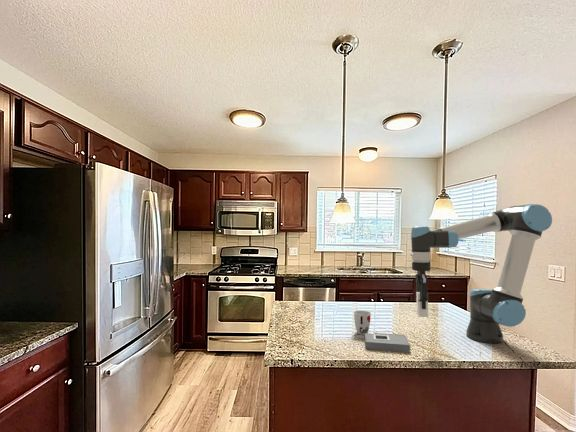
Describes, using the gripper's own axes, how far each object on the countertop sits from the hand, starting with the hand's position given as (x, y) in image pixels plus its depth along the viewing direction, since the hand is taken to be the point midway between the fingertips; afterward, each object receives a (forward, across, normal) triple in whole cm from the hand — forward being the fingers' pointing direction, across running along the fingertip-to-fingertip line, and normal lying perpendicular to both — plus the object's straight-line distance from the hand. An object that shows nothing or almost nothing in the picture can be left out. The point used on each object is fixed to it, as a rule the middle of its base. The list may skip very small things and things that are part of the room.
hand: (422, 314), depth 144 cm
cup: (+14, -15, -26) cm, 33 cm away
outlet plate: (+14, +1, -16) cm, 21 cm away
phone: (+15, -11, -13) cm, 22 cm away
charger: (0, 0, 0) cm, 0 cm away
